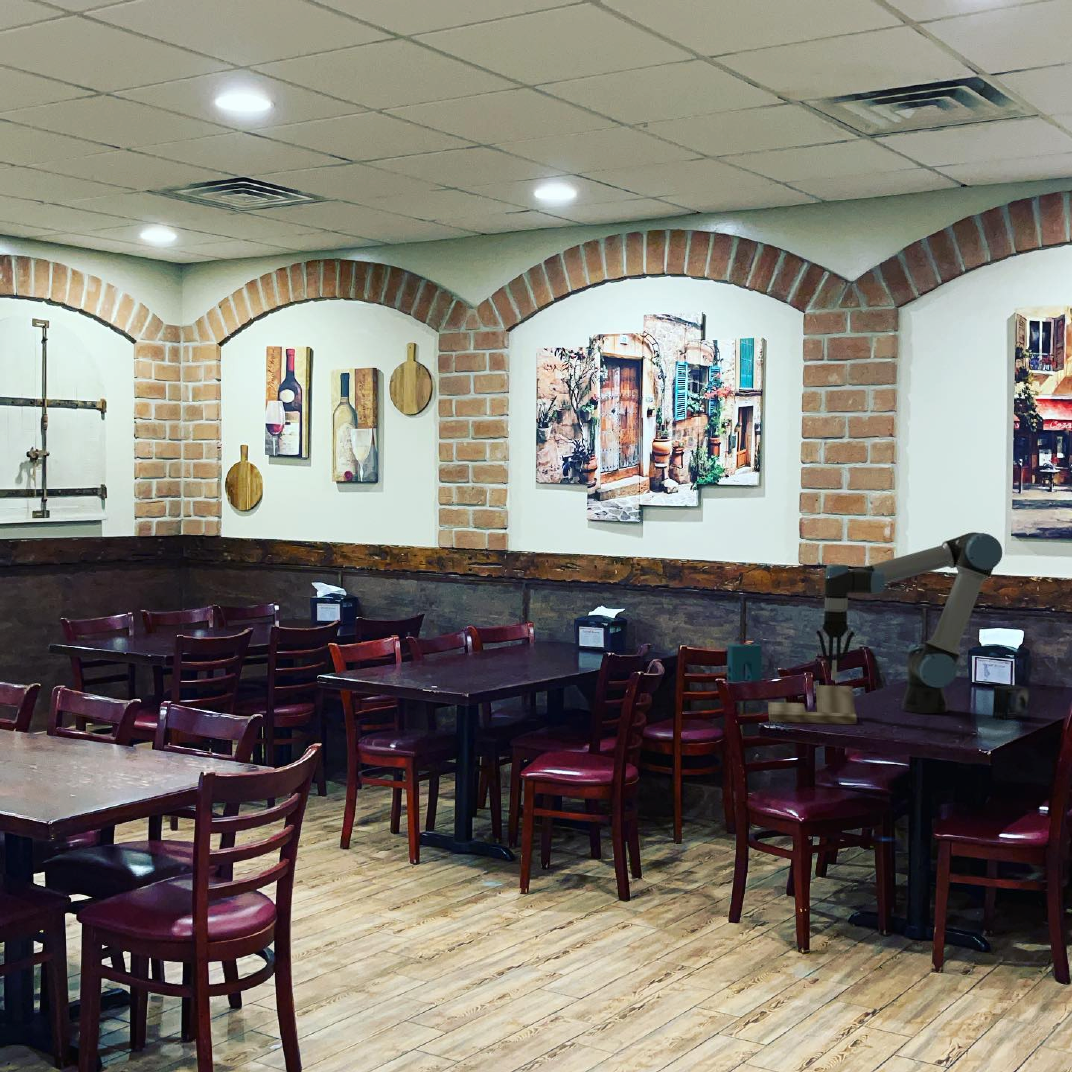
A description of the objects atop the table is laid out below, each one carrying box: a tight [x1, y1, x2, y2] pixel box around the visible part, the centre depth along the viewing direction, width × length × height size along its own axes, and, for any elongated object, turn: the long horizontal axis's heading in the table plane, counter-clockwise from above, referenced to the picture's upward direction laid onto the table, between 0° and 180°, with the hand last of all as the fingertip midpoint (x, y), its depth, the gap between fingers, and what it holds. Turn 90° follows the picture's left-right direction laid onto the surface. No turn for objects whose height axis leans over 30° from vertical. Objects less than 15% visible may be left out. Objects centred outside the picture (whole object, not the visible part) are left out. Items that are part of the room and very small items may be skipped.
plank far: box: [767, 701, 807, 714], centre depth 460 cm, size 12×13×2 cm
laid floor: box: [768, 711, 858, 725], centre depth 449 cm, size 28×6×2 cm, turn 82°
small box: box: [992, 684, 1030, 720], centre depth 459 cm, size 11×6×10 cm, turn 117°
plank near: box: [815, 684, 856, 714], centre depth 457 cm, size 12×13×2 cm
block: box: [726, 643, 763, 703], centre depth 490 cm, size 12×5×20 cm, turn 110°
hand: (833, 679), depth 460 cm, fingers closed
